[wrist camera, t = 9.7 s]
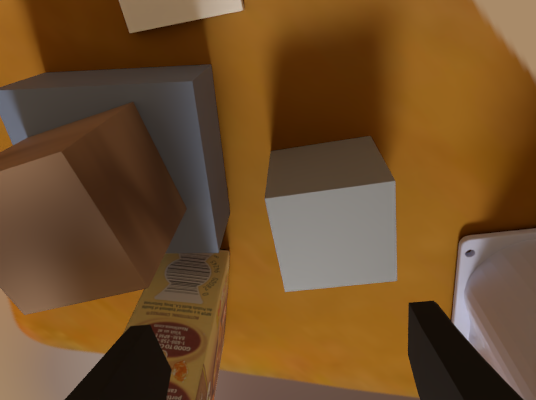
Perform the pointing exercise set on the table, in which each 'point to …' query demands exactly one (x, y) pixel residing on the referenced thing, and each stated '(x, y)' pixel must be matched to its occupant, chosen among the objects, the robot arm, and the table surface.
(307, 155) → the grey cube
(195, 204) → the base block
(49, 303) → the walnut cube
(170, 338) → the candy box
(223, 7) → the tile
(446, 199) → the table surface
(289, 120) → the table surface
